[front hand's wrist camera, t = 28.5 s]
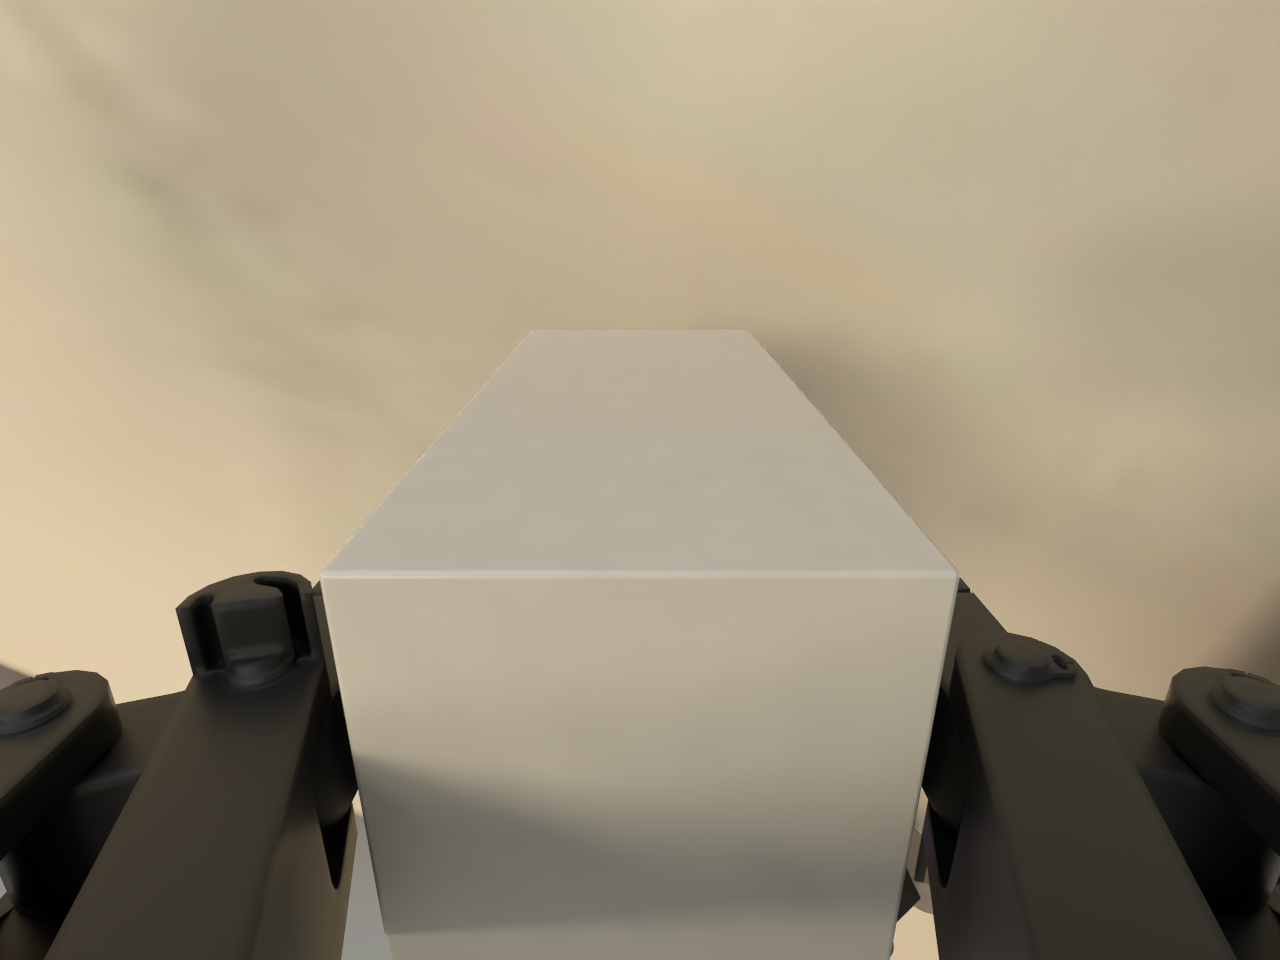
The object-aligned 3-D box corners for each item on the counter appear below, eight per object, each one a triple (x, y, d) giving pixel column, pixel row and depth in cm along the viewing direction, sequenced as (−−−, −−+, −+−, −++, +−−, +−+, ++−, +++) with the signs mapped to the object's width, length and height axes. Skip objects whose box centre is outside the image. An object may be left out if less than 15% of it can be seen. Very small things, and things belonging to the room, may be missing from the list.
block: (736, 553, 19) (875, 1052, 8) (542, 553, 19) (404, 1053, 8) (748, 328, 16) (964, 572, 6) (530, 328, 16) (315, 571, 6)
